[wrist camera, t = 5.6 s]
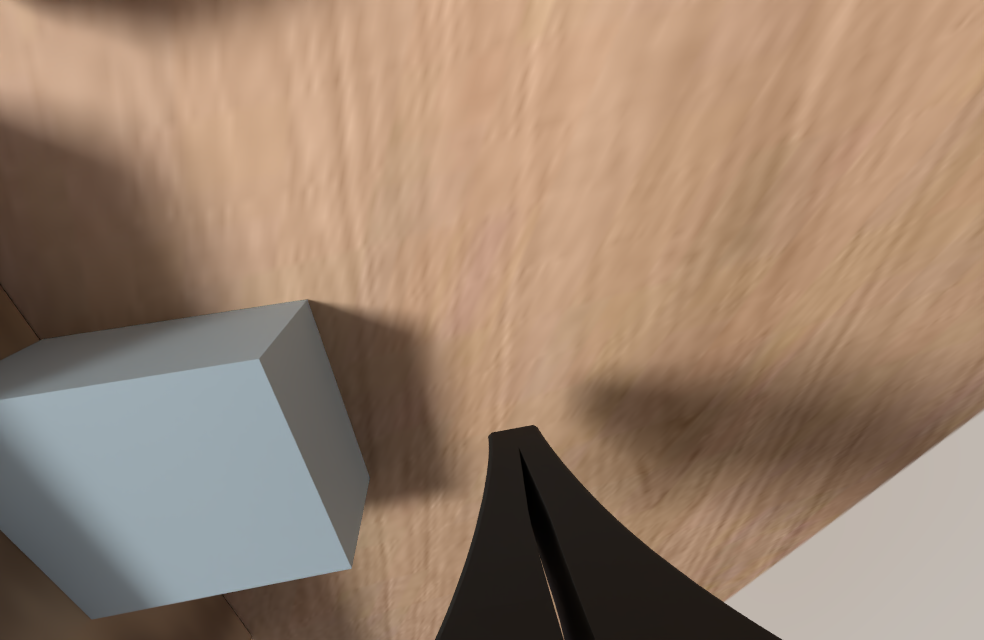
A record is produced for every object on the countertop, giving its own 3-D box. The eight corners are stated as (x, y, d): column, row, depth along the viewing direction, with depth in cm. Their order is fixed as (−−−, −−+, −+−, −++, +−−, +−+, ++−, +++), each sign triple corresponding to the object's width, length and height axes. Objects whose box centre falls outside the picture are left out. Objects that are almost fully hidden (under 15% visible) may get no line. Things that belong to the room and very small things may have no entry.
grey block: (371, 472, 16) (351, 568, 12) (171, 508, 16) (91, 619, 12) (310, 296, 13) (258, 358, 9) (50, 334, 12) (-114, 417, 8)
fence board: (251, 636, 19) (178, 832, 14) (210, 645, 19) (120, 845, 14) (-157, 66, 9) (-1133, -56, 3) (-255, 76, 9) (-1439, -34, 3)
